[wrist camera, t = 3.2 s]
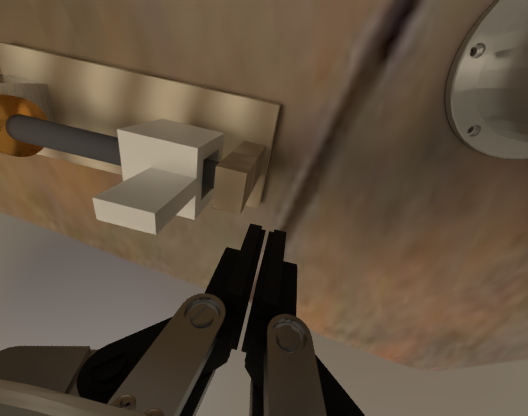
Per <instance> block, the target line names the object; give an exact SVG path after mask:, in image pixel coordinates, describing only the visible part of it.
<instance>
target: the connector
mask: <svg viewBox="0 0 528 416" xmlns="http://www.w3.org/2000/svg"><path fill="white" fill-rule="evenodd" d="M15 114H22V115H26V116H30V117H34V118H38V119H43V120H47V121H51V122H55V123H56V119H55V115H54V110H53V106H52V102H51V98H50V94H49V90H48V86H47V84H46V83H42V82H38V81H34V80H29V79H25V78H21V77H16V76H12V75H8V74H0V153H4V154H8V155H12V156H17V157H27V156H31V155H34V154H37V153H38V152H40V151H41V150H42V149H43V148H44V147H41V146H37V145H33V144H29V143H25V142H21V141H17V140H15V139H13V138H12V137H10V136H9V134H8V133H7V131H6V127H5V124H6V121H7V119H8V118H9V117H10V116H12V115H15Z"/></svg>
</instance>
